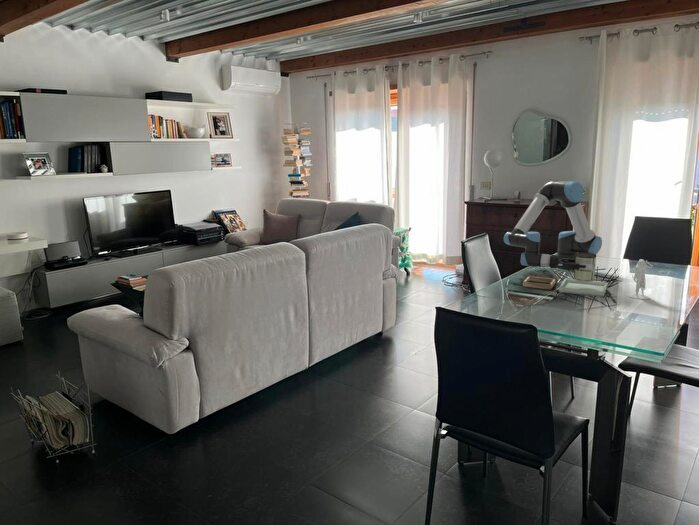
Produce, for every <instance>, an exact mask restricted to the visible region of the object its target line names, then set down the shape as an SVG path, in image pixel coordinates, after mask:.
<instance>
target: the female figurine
mask: <svg viewBox="0 0 699 525" xmlns="http://www.w3.org/2000/svg"><path fill="white" fill-rule="evenodd" d="M648 265H649V266H648ZM653 267H654V265H653V264H652V263H650V262H649V261H648V260H644V259H643V258H642V259H641V258H640V259H639V260H638V262H637V263H636V265H635V272H634V275H633V273H632V272H630V274H631V275H632V277H631V278H632V280H633V282H635V286H636V287H635V293H631V294H629V295H628V296H629V297H630V298H632V299H636V300H650V299H651V297H650V296H649V295H647V294H644V293H645V292H644V291H645V290H646V274H645V273H646V271H647V269H653ZM640 291H641V294H639V292H640Z"/></svg>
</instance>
